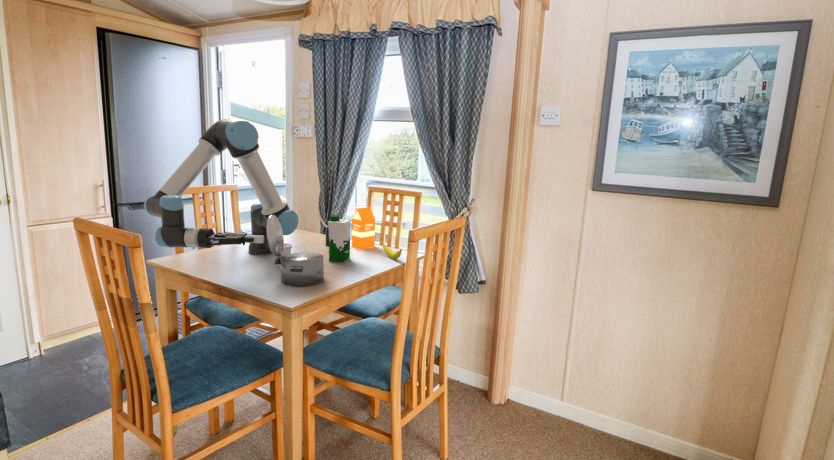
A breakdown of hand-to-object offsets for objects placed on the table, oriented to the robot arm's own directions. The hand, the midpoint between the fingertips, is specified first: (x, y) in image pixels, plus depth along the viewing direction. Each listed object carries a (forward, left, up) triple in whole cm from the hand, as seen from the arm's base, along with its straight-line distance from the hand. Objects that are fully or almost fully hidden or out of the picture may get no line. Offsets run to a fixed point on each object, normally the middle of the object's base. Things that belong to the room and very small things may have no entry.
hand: (263, 239), depth 171 cm
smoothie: (-8, +15, -16) cm, 24 cm away
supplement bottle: (-23, +56, -16) cm, 63 cm away
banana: (+15, +57, -16) cm, 62 cm away
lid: (+4, +3, +1) cm, 5 cm away
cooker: (+11, +9, -16) cm, 21 cm away
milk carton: (0, +39, -16) cm, 42 cm away
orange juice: (-9, +64, -16) cm, 67 cm away
